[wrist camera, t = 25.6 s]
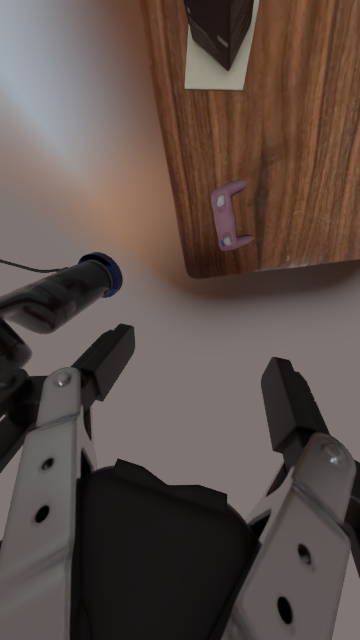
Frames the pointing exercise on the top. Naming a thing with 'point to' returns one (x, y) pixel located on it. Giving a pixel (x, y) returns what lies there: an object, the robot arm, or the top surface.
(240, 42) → the box
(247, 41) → the tile
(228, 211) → the video game controller
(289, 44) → the top surface
